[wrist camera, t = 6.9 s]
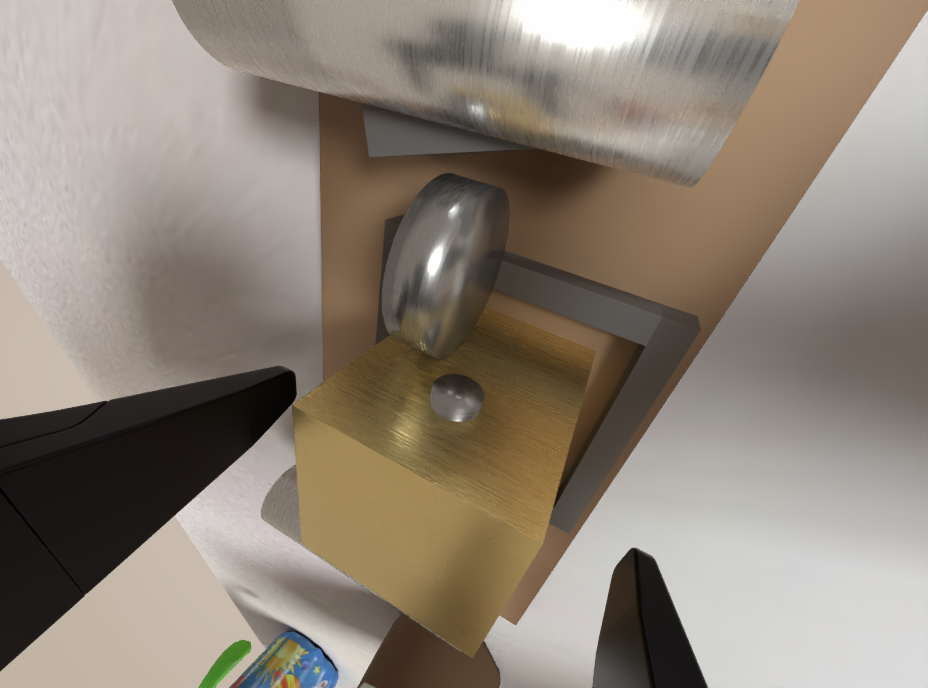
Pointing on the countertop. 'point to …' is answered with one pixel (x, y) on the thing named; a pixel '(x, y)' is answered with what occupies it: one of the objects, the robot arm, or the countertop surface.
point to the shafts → (502, 114)
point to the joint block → (440, 469)
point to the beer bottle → (427, 662)
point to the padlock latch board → (605, 234)
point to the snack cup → (276, 665)
